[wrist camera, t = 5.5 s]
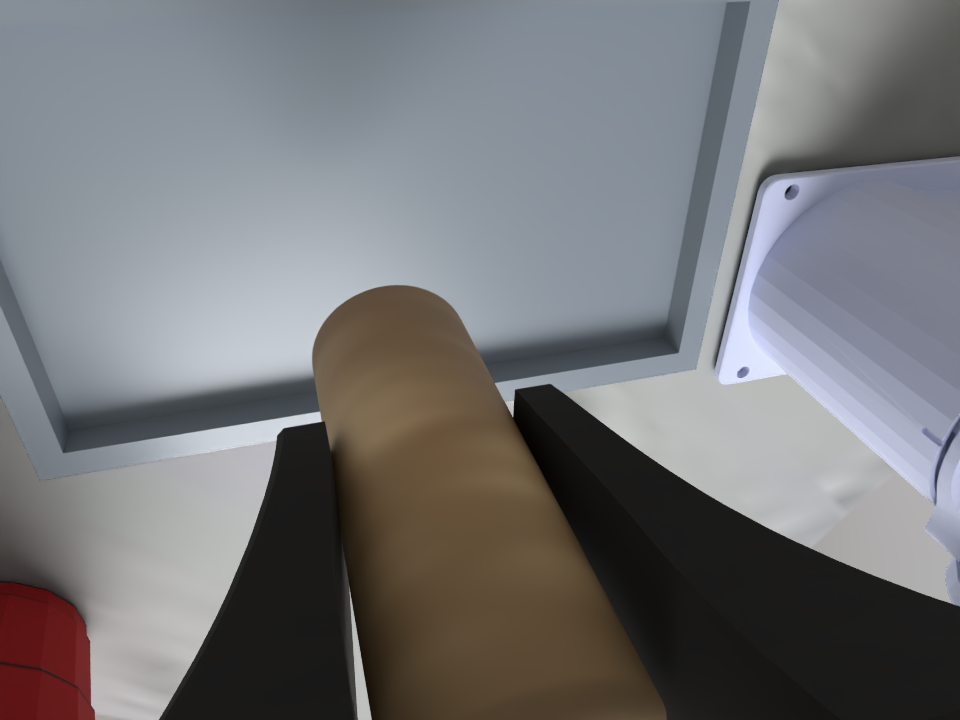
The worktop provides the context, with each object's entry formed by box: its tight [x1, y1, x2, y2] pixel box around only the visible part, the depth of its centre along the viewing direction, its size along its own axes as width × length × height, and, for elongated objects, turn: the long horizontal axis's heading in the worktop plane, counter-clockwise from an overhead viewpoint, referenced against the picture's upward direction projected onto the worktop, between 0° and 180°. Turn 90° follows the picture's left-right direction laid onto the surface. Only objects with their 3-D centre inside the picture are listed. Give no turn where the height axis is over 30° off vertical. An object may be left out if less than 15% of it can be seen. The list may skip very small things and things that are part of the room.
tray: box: [0, 0, 779, 481], centre depth 19 cm, size 20×12×2 cm, turn 89°
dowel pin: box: [312, 285, 667, 720], centre depth 10 cm, size 3×3×8 cm
